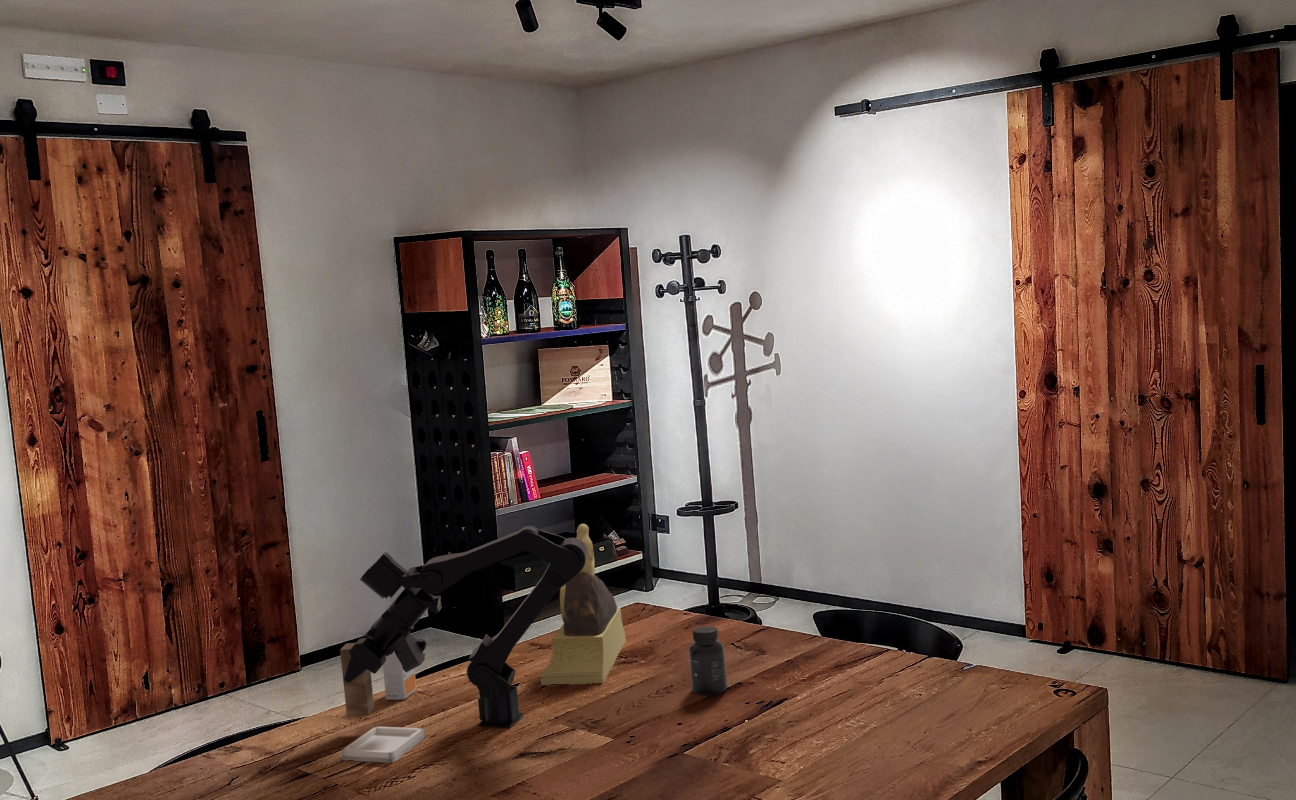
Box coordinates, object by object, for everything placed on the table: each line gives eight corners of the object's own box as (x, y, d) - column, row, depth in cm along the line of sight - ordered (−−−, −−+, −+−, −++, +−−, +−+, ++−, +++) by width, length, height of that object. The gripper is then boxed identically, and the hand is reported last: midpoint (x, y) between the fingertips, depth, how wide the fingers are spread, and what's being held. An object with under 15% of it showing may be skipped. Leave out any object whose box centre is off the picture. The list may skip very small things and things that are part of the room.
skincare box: (405, 700, 219) (399, 642, 218) (385, 700, 220) (379, 642, 219) (417, 689, 225) (412, 633, 224) (398, 689, 226) (392, 633, 225)
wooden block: (374, 706, 205) (367, 641, 204) (368, 714, 201) (361, 648, 200) (352, 708, 205) (346, 643, 204) (346, 716, 201) (340, 650, 200)
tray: (424, 738, 198) (423, 728, 197) (392, 762, 187) (391, 752, 187) (376, 735, 201) (375, 726, 201) (342, 760, 190) (341, 750, 190)
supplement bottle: (685, 689, 212) (680, 629, 211) (714, 681, 216) (709, 622, 215) (704, 698, 206) (699, 636, 205) (734, 690, 210) (729, 629, 209)
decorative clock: (570, 643, 250) (559, 514, 247) (626, 641, 248) (615, 511, 246) (541, 685, 222) (528, 540, 220) (603, 684, 220) (590, 537, 218)
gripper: (425, 658, 193) (369, 723, 193) (446, 628, 211) (395, 688, 212) (377, 617, 192) (321, 683, 193) (401, 591, 211) (350, 651, 212)
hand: (349, 677), depth 202 cm, fingers closed on wooden block, 4 cm apart
